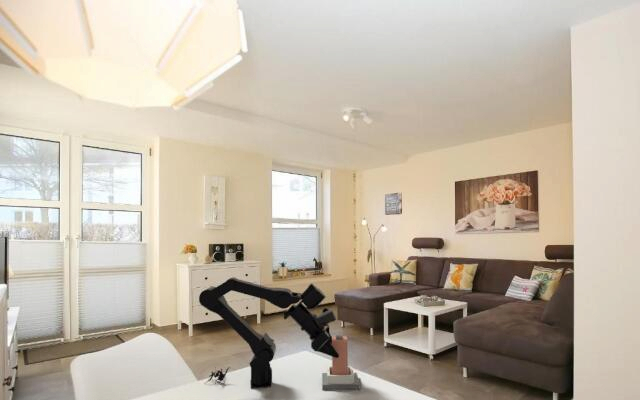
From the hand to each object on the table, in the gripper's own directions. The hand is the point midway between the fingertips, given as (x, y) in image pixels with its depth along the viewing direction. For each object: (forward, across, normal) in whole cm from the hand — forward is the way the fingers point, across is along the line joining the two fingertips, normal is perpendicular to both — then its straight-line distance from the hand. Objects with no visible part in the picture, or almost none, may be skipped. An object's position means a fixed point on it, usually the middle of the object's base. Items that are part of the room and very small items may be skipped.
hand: (337, 352), depth 128 cm
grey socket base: (+8, 0, +6) cm, 10 cm away
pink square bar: (+6, 0, +6) cm, 9 cm away
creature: (-22, +3, +37) cm, 43 cm away
